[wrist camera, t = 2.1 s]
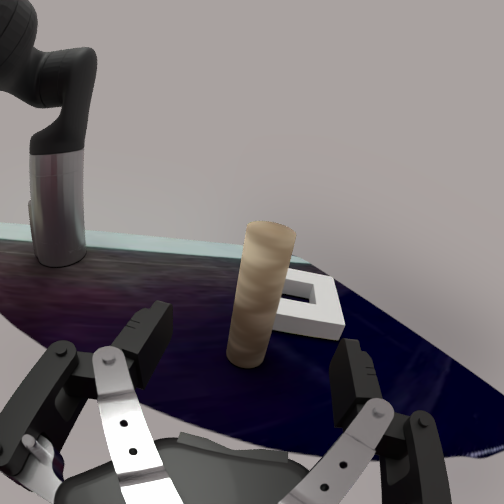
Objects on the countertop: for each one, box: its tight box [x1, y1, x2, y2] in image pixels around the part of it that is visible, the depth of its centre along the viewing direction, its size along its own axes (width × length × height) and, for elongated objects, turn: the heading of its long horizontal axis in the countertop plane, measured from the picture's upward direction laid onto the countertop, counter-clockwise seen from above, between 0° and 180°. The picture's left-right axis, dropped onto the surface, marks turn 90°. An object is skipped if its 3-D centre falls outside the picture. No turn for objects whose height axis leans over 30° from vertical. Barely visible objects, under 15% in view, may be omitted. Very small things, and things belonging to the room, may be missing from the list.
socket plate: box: [272, 268, 345, 340], centre depth 37 cm, size 12×12×2 cm
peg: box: [226, 221, 296, 368], centre depth 25 cm, size 4×4×14 cm
